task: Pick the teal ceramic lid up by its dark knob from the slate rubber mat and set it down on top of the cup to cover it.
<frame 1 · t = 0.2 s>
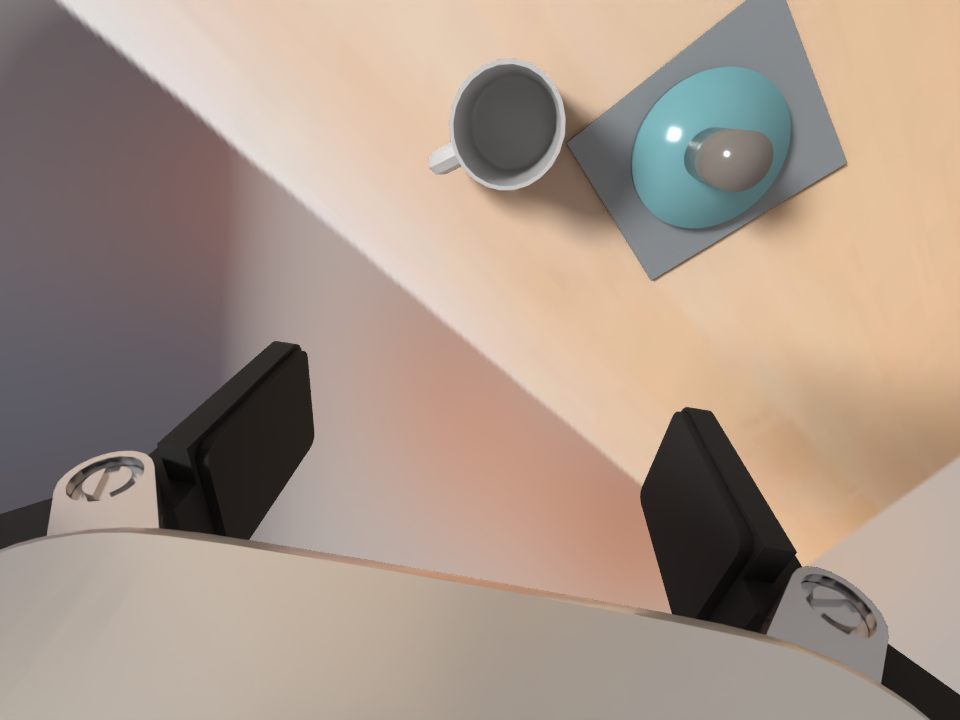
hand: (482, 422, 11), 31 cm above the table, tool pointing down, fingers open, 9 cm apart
cup: (496, 132, 35), on the table
lid: (703, 152, 34), resting on mat
mat: (702, 152, 34), on the table
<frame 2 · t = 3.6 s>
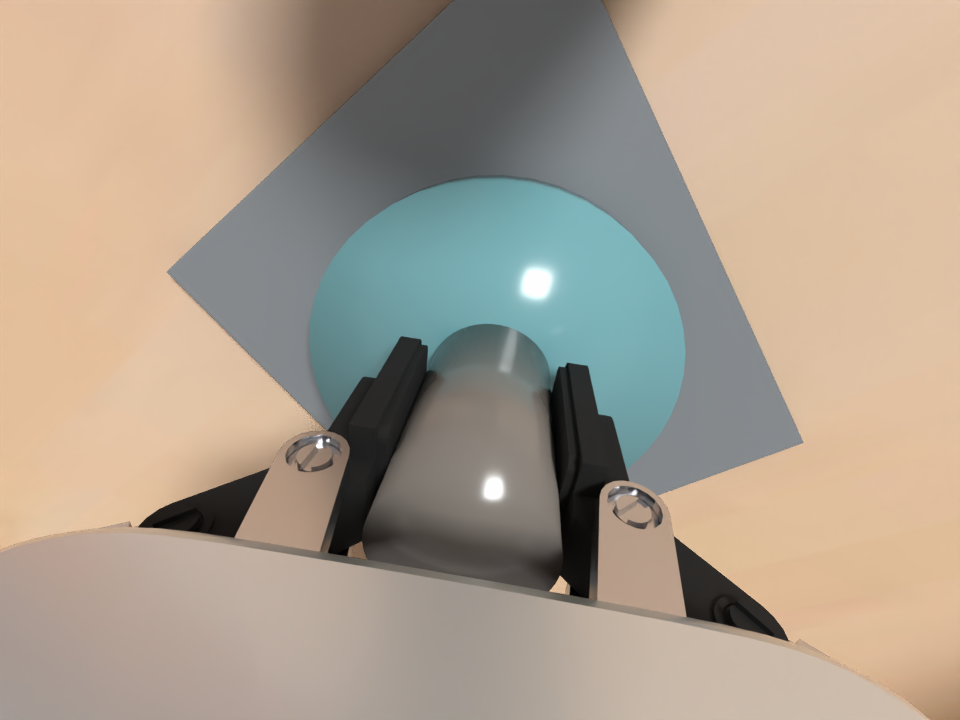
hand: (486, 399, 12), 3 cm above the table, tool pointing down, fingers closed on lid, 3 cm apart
lid: (492, 359, 14), resting on mat, touching gripper
mat: (493, 353, 14), on the table
when the fingers open (13 cm above the table, at t = 8.2 s): lid drops 2 cm, resting on cup.
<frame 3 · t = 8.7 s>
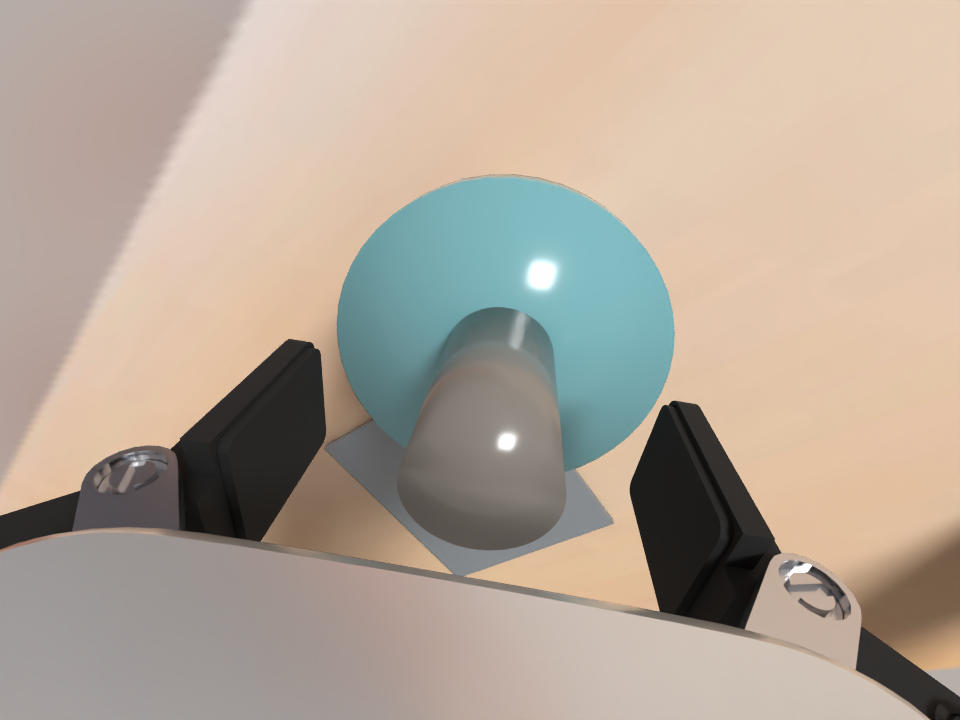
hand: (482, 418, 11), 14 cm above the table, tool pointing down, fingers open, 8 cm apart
lid: (501, 341, 15), point 9 cm above the table, touching cup
mat: (471, 482, 31), on the table
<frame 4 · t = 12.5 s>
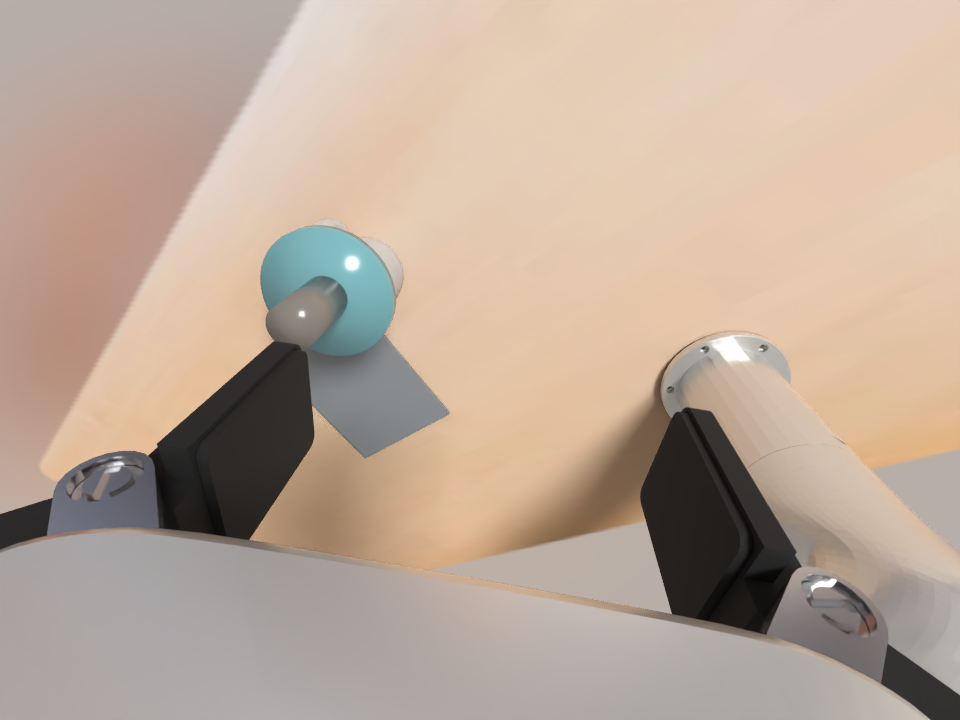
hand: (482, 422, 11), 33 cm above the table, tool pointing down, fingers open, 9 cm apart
cup: (364, 257, 44), on the table, touching lid
lid: (332, 291, 37), point 9 cm above the table, touching cup
mat: (364, 389, 52), on the table
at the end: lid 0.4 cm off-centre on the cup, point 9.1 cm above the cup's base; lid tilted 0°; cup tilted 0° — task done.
